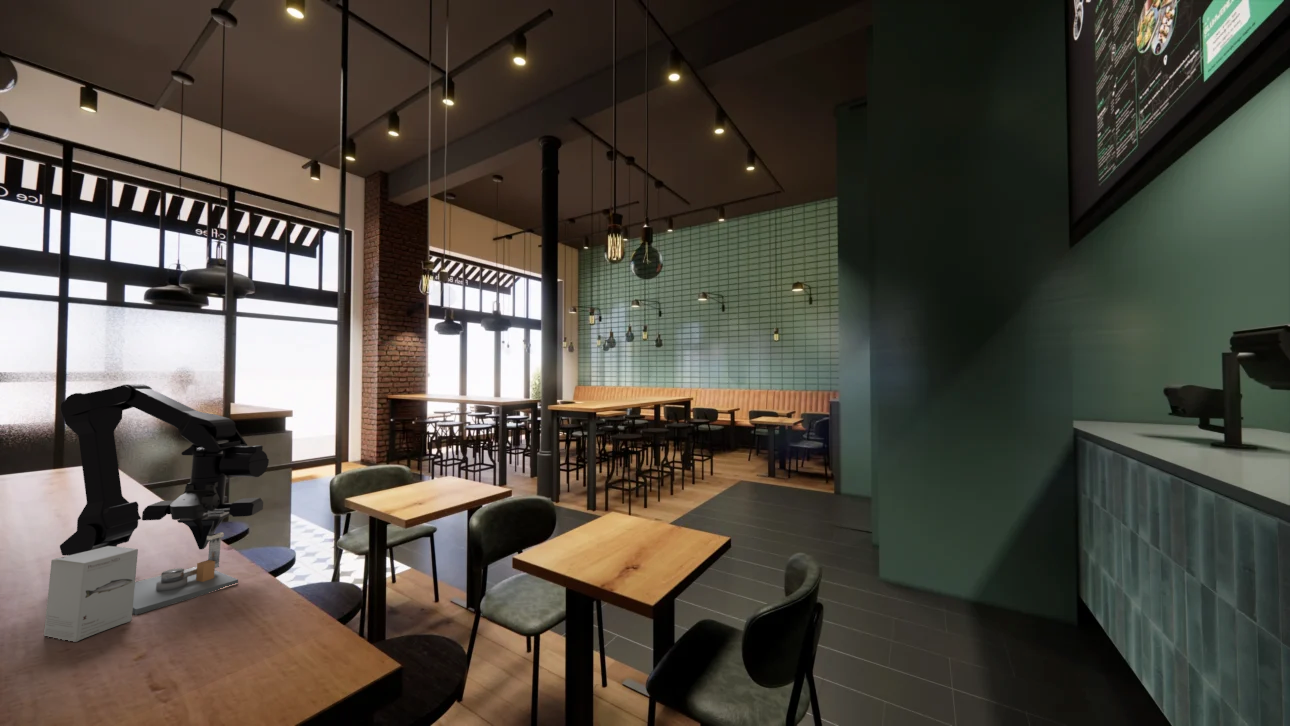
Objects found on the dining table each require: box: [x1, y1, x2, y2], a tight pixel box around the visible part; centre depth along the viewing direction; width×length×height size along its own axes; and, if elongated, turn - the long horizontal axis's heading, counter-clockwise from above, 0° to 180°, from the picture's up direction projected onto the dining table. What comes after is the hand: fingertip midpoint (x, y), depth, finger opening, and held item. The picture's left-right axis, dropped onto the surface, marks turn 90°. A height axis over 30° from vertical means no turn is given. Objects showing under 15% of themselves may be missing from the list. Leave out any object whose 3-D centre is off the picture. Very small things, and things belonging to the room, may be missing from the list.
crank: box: [160, 531, 225, 583], centre depth 97 cm, size 10×3×7 cm, turn 164°
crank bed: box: [132, 559, 239, 616], centre depth 94 cm, size 16×15×4 cm
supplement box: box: [43, 546, 139, 643], centre depth 79 cm, size 7×7×13 cm
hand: (202, 548), depth 100 cm, fingers closed
